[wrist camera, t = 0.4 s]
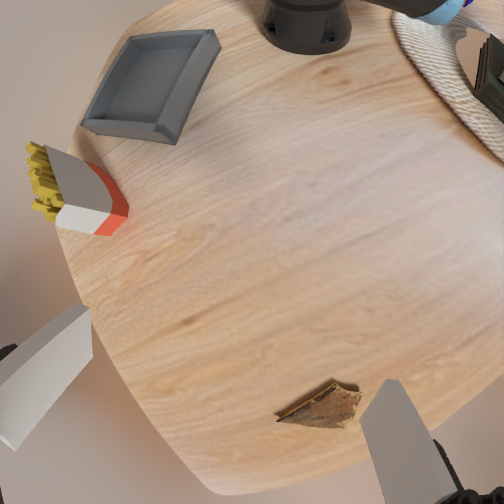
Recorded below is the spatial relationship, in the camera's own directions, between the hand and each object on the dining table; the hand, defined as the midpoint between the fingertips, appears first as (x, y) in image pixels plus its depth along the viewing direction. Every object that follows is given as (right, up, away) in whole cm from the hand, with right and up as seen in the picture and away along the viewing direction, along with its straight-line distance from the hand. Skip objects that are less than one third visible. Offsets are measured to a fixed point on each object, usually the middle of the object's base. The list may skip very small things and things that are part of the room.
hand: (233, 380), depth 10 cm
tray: (-16, +33, +28) cm, 46 cm away
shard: (+11, -18, +23) cm, 31 cm away
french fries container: (-21, +13, +29) cm, 38 cm away
